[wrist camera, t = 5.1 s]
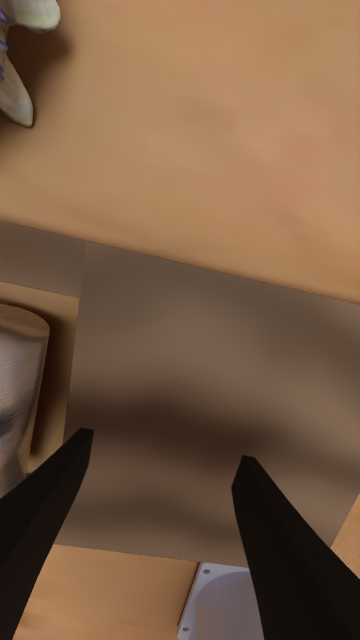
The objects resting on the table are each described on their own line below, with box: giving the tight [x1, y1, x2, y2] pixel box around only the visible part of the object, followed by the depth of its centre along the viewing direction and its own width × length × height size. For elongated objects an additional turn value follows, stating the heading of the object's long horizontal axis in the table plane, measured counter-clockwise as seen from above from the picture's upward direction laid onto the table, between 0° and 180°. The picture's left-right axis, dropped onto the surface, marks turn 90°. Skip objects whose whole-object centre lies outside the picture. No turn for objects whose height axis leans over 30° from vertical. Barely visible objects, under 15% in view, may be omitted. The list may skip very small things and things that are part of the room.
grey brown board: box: [0, 221, 360, 568], centre depth 12 cm, size 18×28×2 cm, turn 77°
